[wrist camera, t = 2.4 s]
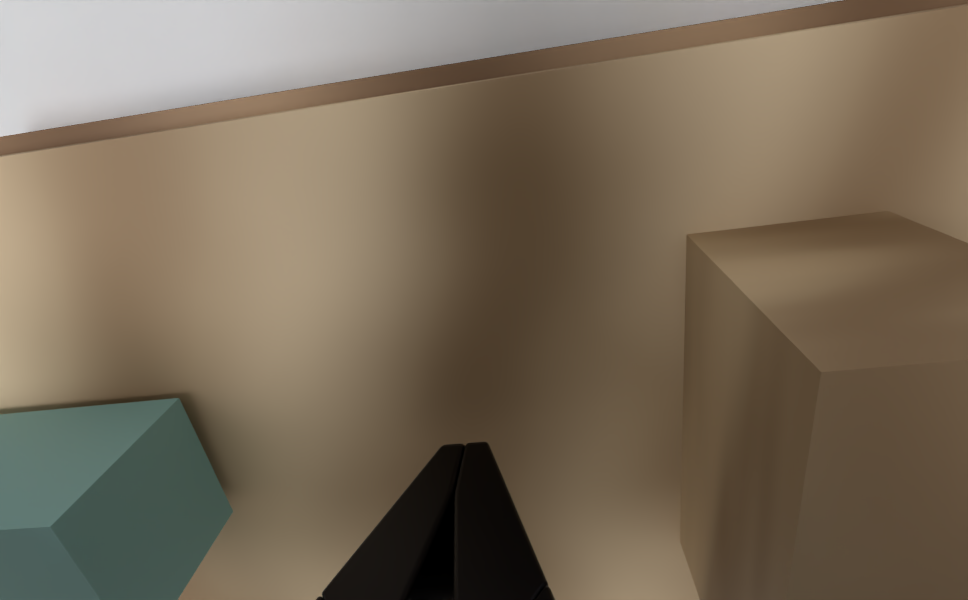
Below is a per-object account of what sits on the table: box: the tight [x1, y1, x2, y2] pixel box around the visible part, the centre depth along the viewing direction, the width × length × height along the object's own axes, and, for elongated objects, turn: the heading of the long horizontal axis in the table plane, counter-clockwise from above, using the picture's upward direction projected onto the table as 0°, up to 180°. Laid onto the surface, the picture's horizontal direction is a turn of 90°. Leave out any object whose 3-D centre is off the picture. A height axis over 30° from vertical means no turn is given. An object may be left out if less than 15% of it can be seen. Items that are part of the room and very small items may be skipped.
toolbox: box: [0, 0, 968, 156], centre depth 10 cm, size 23×13×8 cm, turn 98°
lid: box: [0, 4, 968, 600], centre depth 9 cm, size 21×12×6 cm, turn 98°
